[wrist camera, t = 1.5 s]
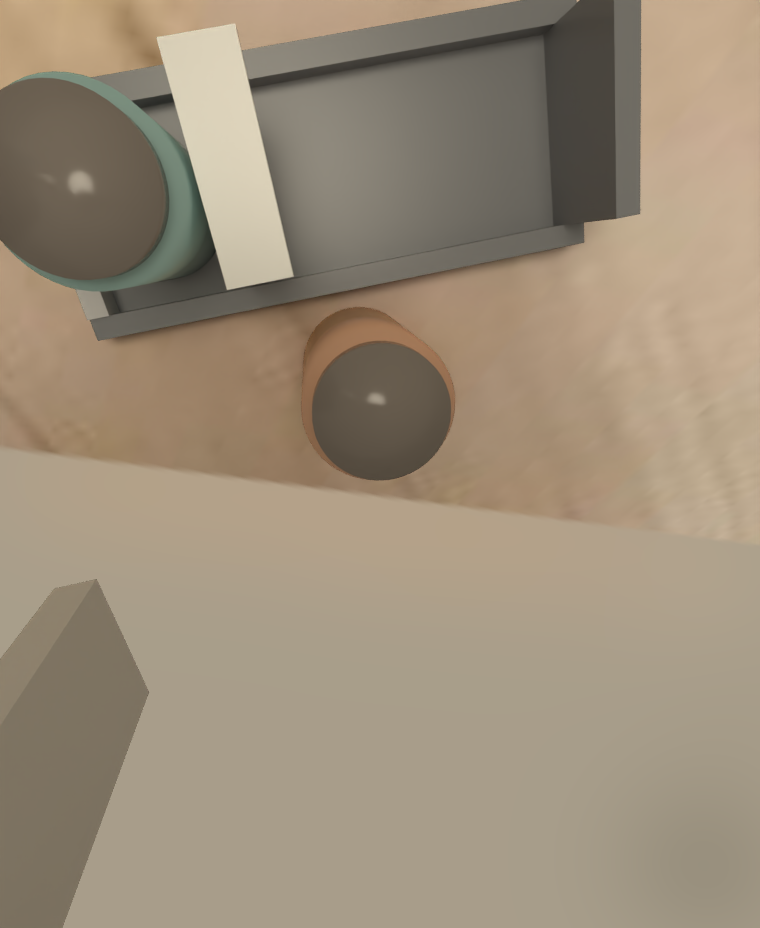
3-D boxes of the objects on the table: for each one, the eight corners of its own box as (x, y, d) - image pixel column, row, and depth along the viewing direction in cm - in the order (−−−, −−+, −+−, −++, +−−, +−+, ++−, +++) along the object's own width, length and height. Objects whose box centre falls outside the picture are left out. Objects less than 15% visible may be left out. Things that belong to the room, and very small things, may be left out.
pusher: (249, 280, 26) (227, 289, 19) (202, 102, 23) (156, 37, 16) (297, 270, 26) (293, 276, 19) (257, 92, 23) (234, 23, 16)
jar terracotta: (317, 427, 30) (321, 504, 21) (291, 319, 28) (282, 352, 19) (421, 405, 30) (470, 471, 21) (404, 296, 28) (450, 317, 19)
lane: (111, 335, 27) (53, 359, 21) (25, 104, 23) (-77, 51, 17) (568, 243, 28) (639, 240, 22) (557, 8, 24) (641, -74, 18)
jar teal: (116, 290, 26) (8, 311, 16) (65, 149, 23) (-93, 81, 14) (239, 266, 26) (201, 272, 17) (201, 124, 24) (133, 41, 14)
